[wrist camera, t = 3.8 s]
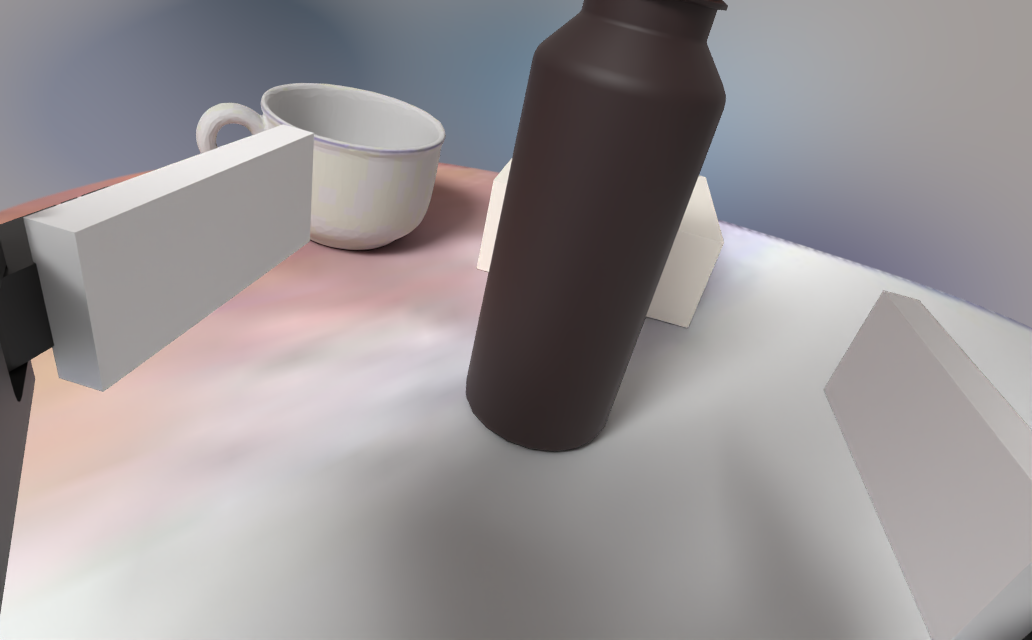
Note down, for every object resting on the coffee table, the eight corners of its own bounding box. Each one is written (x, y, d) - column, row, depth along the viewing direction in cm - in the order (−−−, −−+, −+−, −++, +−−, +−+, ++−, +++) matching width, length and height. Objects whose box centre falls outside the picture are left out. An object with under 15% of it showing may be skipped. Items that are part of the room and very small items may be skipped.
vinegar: (436, 411, 26) (537, -151, 16) (502, 344, 32) (608, -105, 22) (577, 480, 25) (791, -102, 14) (621, 396, 30) (797, -66, 20)
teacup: (414, 203, 46) (427, 96, 42) (445, 272, 38) (466, 147, 34) (211, 189, 41) (204, 65, 37) (195, 265, 32) (183, 115, 28)
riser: (679, 246, 50) (705, 177, 47) (687, 328, 38) (724, 242, 35) (518, 202, 51) (533, 132, 48) (476, 268, 39) (493, 180, 36)
